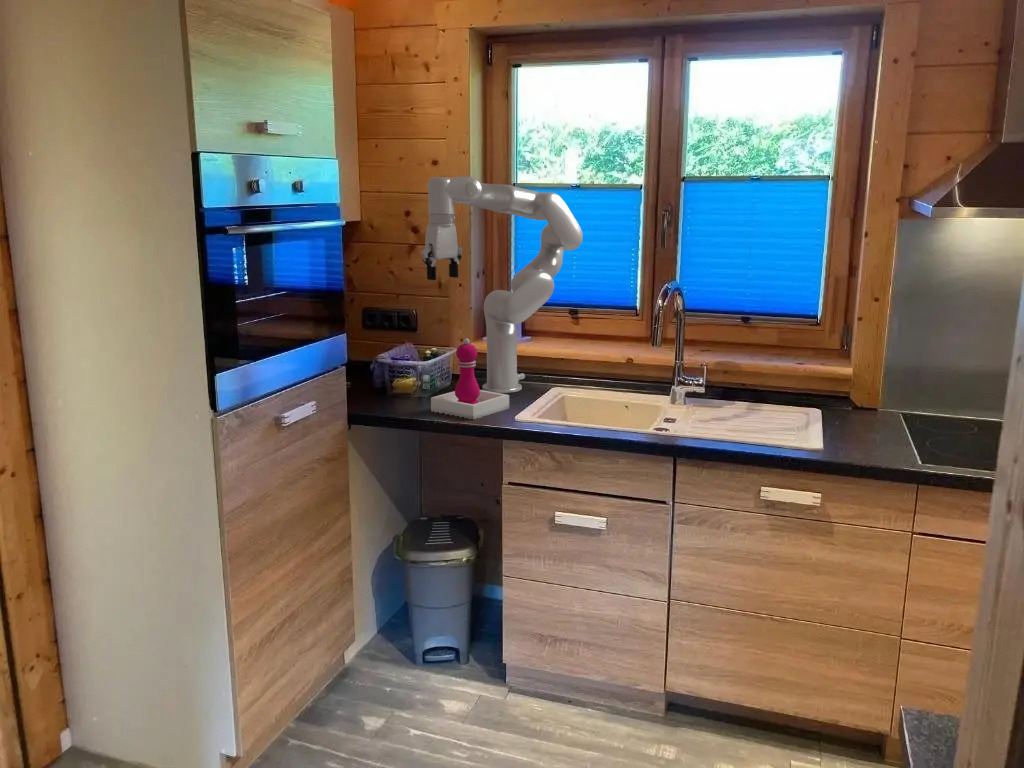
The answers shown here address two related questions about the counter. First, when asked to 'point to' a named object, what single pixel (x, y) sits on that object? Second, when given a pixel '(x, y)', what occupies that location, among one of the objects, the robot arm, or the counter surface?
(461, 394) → the pepper mill
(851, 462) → the counter surface
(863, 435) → the counter surface
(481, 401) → the tray
